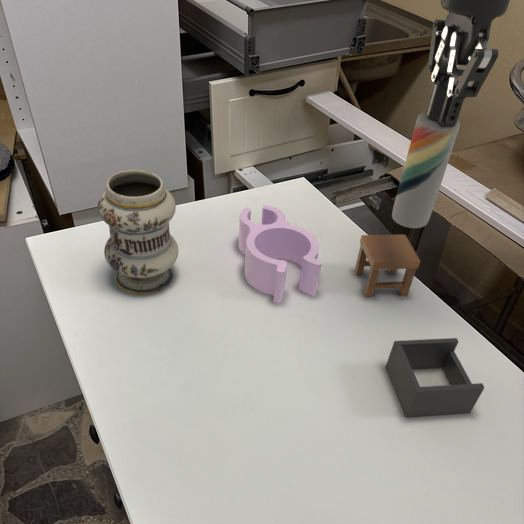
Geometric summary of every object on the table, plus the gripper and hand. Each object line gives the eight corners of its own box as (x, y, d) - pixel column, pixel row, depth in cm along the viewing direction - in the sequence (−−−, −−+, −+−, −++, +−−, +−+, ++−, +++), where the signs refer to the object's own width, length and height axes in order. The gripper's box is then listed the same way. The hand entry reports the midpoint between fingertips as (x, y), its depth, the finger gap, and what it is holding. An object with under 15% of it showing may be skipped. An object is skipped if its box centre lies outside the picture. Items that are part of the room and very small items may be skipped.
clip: (222, 243, 100) (223, 211, 95) (282, 233, 104) (285, 201, 99) (262, 308, 87) (265, 275, 83) (328, 294, 91) (335, 261, 86)
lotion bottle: (409, 205, 83) (449, 70, 69) (436, 223, 80) (483, 85, 66) (383, 214, 81) (418, 76, 67) (409, 232, 78) (452, 91, 64)
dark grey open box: (444, 365, 81) (456, 337, 77) (469, 415, 74) (484, 387, 70) (384, 369, 79) (394, 340, 75) (404, 419, 73) (416, 391, 69)
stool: (394, 271, 98) (405, 234, 92) (408, 298, 92) (420, 261, 86) (352, 272, 96) (361, 235, 91) (364, 300, 91) (374, 262, 85)
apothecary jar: (149, 309, 85) (137, 211, 73) (94, 282, 89) (74, 184, 77) (193, 273, 93) (190, 179, 80) (141, 250, 97) (130, 156, 84)
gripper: (551, -24, 53) (489, 142, 66) (489, -50, 63) (445, 99, 75) (482, -27, 52) (432, 142, 64) (430, -53, 62) (395, 99, 74)
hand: (439, 118), depth 70 cm, fingers closed on lotion bottle, 3 cm apart
